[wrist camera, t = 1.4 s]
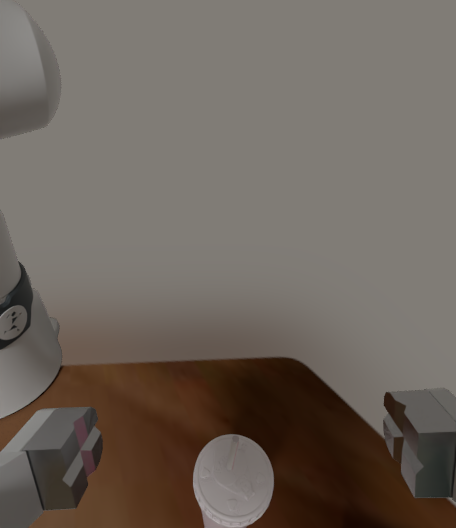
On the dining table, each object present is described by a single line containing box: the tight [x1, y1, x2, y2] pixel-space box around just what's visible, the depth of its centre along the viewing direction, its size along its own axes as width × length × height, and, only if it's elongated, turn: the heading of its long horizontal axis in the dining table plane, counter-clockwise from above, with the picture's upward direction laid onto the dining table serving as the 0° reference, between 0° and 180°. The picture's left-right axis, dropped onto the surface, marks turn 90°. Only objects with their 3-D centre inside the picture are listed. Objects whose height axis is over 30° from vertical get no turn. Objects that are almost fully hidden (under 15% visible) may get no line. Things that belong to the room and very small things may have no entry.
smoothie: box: [193, 434, 274, 528], centre depth 27 cm, size 6×6×14 cm
